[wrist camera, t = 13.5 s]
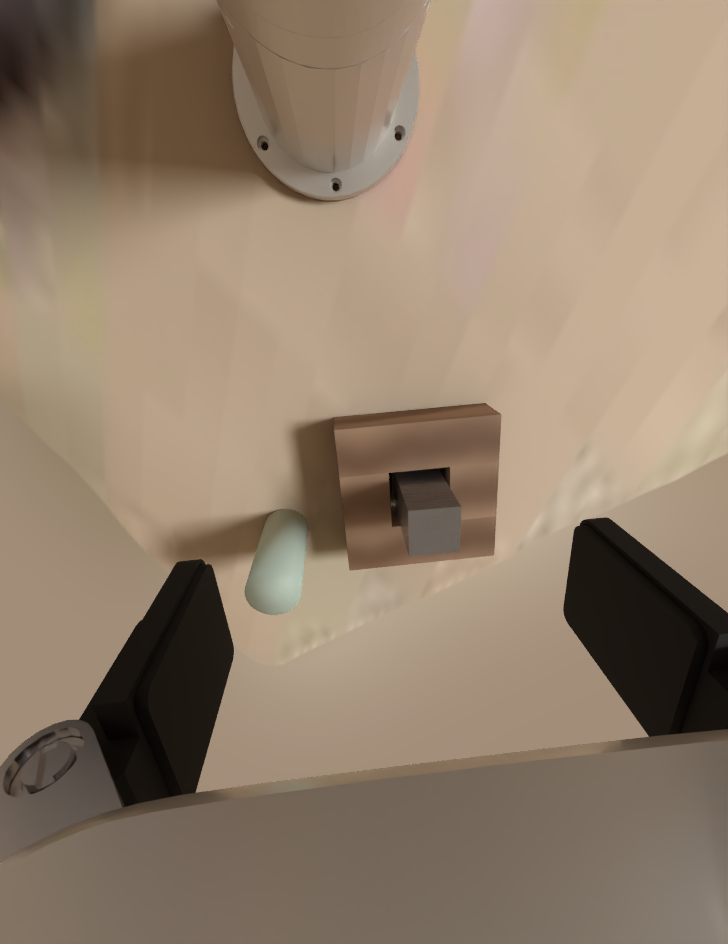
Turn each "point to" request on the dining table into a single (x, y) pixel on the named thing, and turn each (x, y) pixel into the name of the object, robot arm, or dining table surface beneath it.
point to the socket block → (407, 449)
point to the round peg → (278, 563)
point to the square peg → (426, 512)
